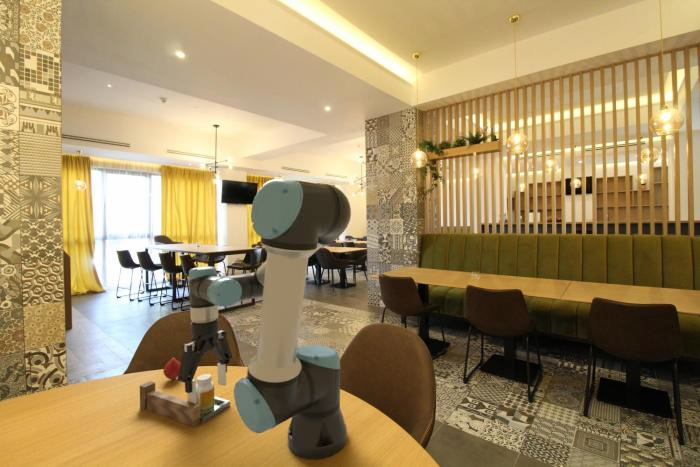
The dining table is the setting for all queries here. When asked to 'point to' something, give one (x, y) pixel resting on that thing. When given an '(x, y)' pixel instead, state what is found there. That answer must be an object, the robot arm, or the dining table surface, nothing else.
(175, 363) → the onion
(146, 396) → the door edge rail
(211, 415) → the socket
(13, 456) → the dining table surface
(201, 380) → the supplement bottle
